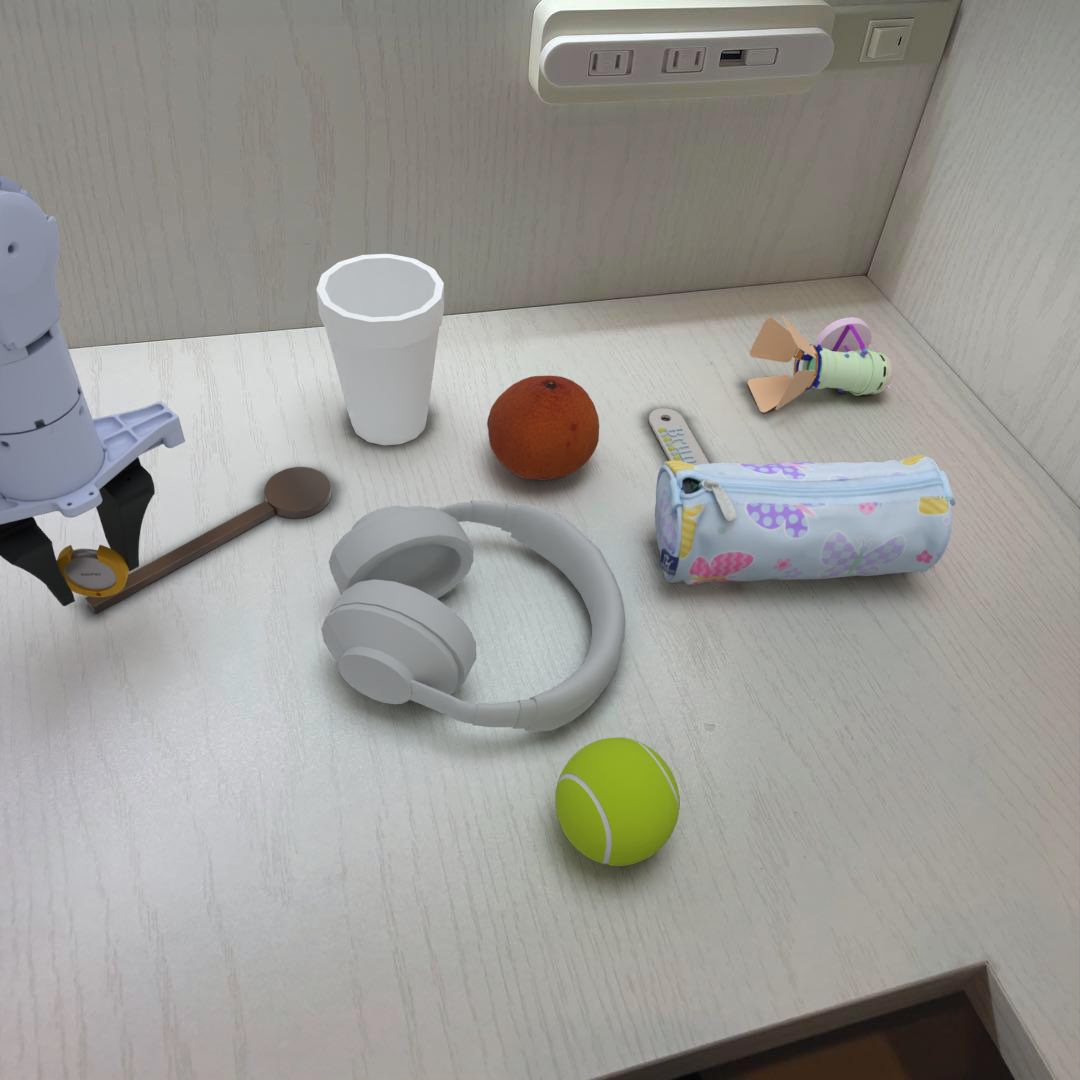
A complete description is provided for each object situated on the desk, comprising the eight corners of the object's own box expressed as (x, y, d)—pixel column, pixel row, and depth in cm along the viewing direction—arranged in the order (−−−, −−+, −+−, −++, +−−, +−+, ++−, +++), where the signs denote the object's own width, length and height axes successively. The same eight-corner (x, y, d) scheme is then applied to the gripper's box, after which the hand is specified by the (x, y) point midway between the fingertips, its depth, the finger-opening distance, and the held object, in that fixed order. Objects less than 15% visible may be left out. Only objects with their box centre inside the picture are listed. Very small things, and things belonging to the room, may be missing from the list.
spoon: (109, 630, 65) (106, 622, 65) (73, 588, 68) (70, 581, 67) (344, 497, 76) (343, 490, 75) (306, 465, 78) (304, 457, 77)
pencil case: (653, 605, 70) (675, 512, 63) (636, 520, 76) (654, 426, 69) (931, 600, 72) (981, 509, 65) (893, 517, 78) (935, 425, 71)
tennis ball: (623, 759, 61) (638, 695, 56) (692, 849, 57) (715, 789, 52) (529, 810, 58) (536, 748, 53) (595, 909, 54) (609, 852, 49)
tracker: (65, 597, 59) (45, 554, 56) (68, 587, 60) (49, 544, 57) (133, 596, 59) (117, 554, 57) (136, 586, 60) (120, 543, 57)
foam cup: (309, 420, 82) (290, 284, 72) (390, 373, 87) (382, 241, 77) (388, 473, 78) (378, 337, 68) (467, 421, 83) (469, 288, 73)
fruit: (568, 418, 84) (577, 341, 78) (609, 486, 78) (621, 408, 73) (471, 437, 81) (472, 358, 76) (506, 508, 76) (510, 429, 70)
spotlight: (766, 425, 85) (803, 358, 80) (737, 362, 90) (771, 295, 85) (882, 433, 89) (926, 369, 83) (848, 372, 94) (887, 309, 88)
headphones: (309, 750, 59) (624, 765, 63) (314, 675, 54) (659, 696, 57) (333, 533, 72) (594, 556, 76) (339, 454, 66) (620, 484, 70)
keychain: (644, 407, 84) (676, 403, 85) (643, 413, 85) (675, 409, 85) (689, 489, 78) (723, 483, 78) (687, 494, 78) (722, 489, 79)
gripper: (-99, 507, 43) (4, 684, 53) (192, 378, 51) (235, 554, 60) (-158, 429, 46) (-51, 610, 56) (123, 319, 54) (175, 495, 64)
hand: (94, 577), depth 59 cm, fingers closed on tracker, 3 cm apart
